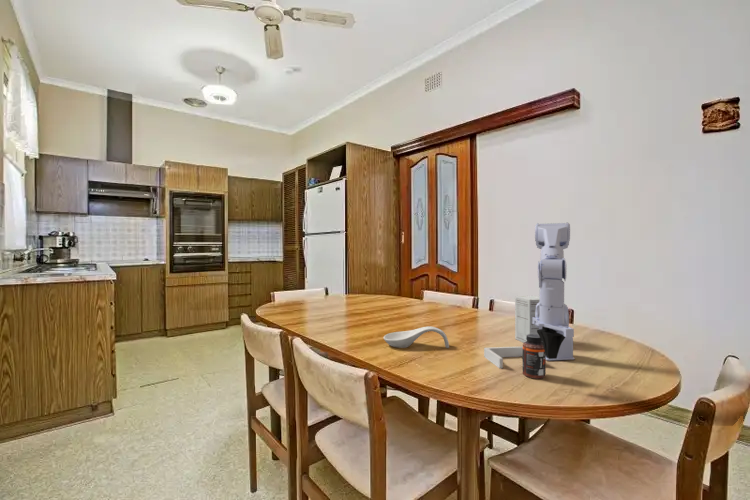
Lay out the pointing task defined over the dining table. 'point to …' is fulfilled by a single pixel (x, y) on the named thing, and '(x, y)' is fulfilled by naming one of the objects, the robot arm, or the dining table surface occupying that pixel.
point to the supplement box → (525, 317)
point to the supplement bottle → (534, 357)
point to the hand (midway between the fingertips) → (551, 358)
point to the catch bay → (501, 354)
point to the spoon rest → (411, 337)
